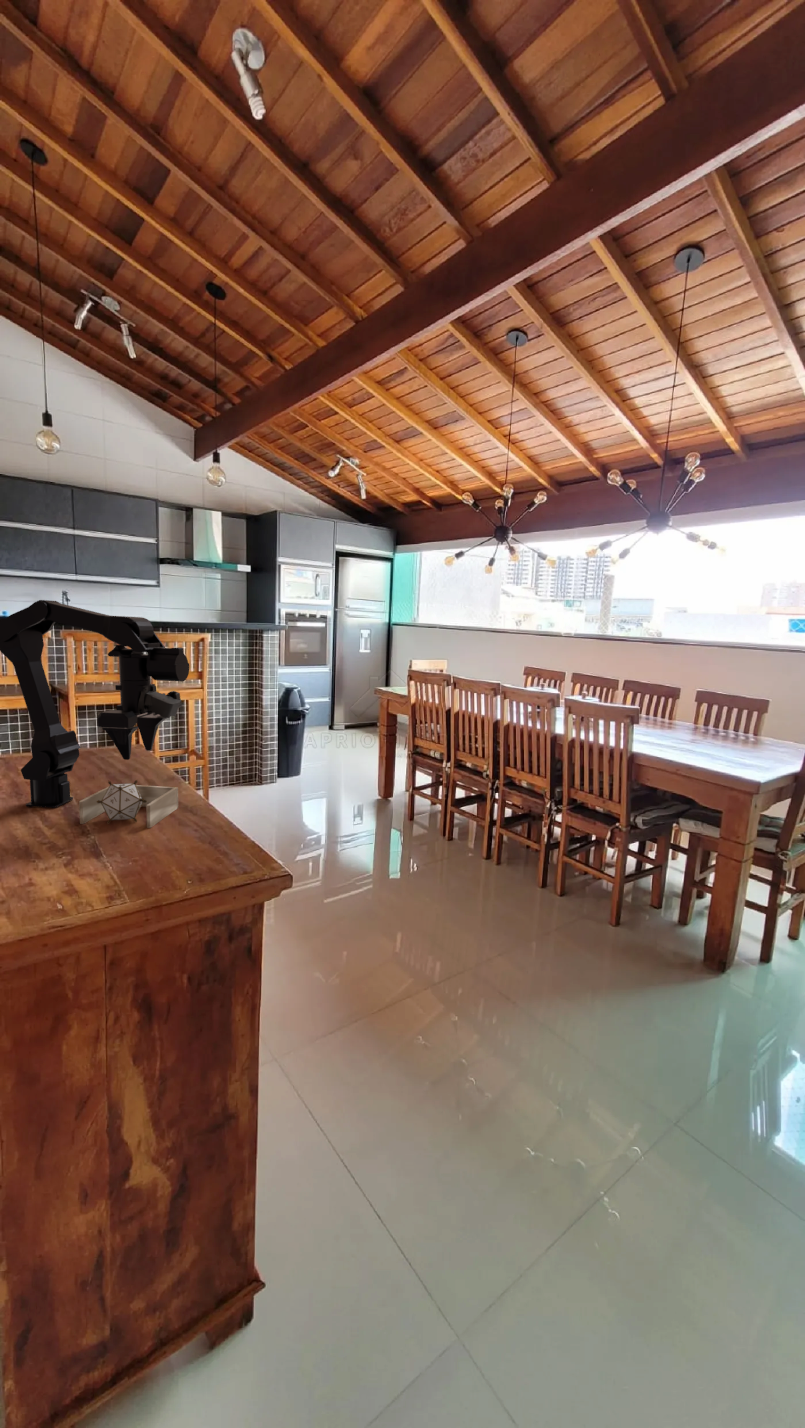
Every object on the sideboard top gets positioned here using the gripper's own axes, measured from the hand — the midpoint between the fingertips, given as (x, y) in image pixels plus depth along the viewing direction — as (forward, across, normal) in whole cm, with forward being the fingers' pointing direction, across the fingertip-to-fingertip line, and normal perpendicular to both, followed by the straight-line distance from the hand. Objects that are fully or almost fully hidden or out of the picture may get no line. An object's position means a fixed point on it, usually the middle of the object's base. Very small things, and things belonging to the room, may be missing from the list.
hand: (138, 754), depth 120 cm
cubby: (+12, -3, 0) cm, 12 cm away
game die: (+12, -6, 0) cm, 14 cm away
